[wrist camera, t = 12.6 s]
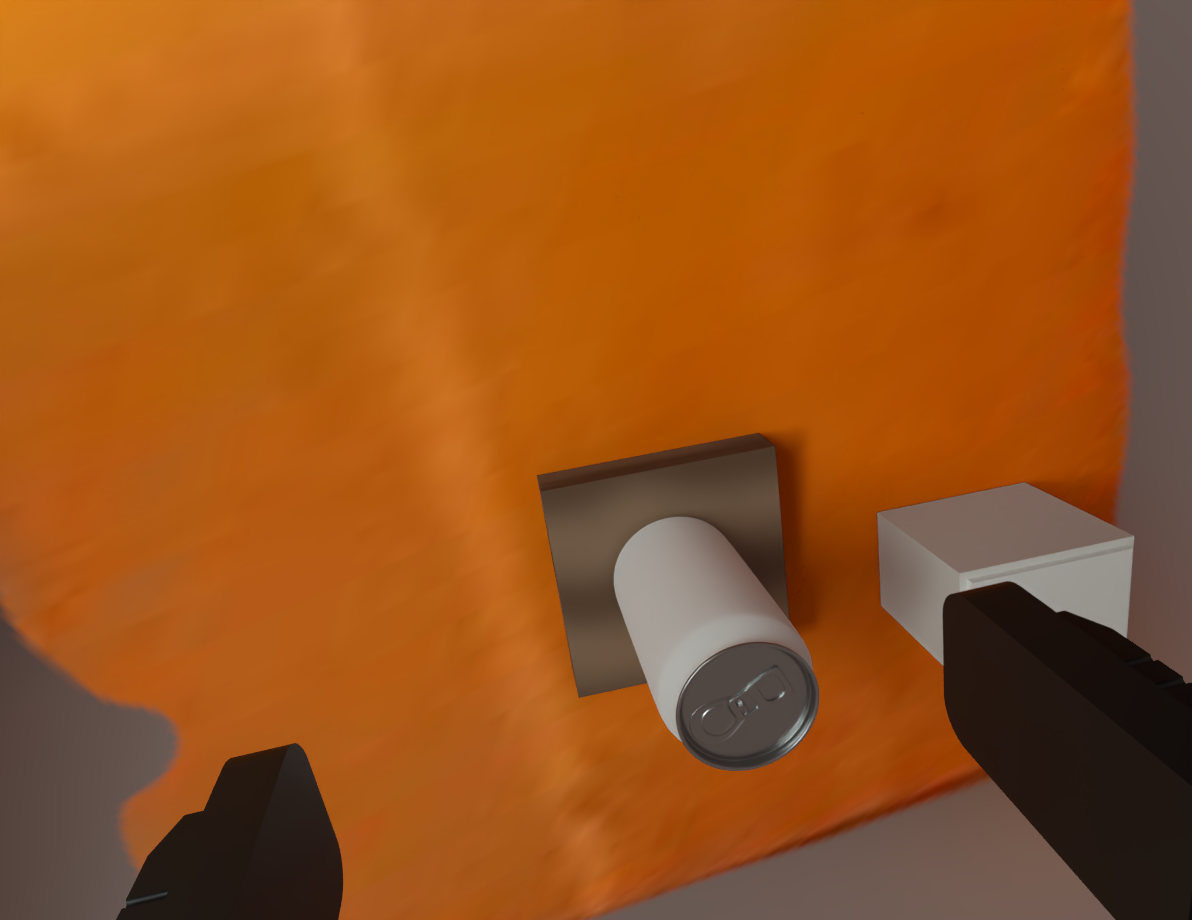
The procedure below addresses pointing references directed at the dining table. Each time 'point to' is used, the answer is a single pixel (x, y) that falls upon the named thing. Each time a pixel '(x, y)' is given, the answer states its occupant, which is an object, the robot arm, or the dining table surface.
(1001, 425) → the dining table surface
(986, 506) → the white box
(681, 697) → the can
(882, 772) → the dining table surface
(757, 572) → the base
